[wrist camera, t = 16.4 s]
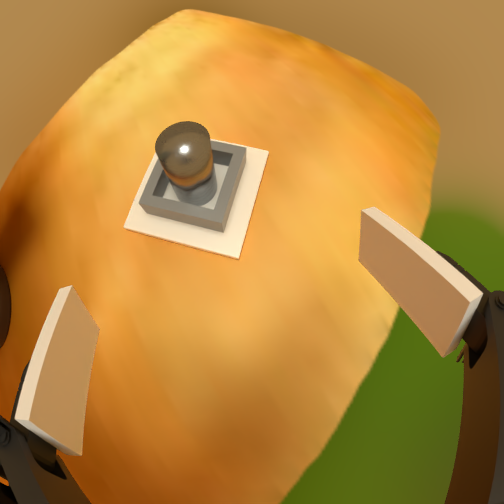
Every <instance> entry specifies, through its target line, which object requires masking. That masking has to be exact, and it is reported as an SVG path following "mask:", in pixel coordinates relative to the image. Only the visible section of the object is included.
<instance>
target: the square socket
mask: <svg viewBox="0 0 504 504" xmlns="http://www.w3.org/2000/svg"><path fill="white" fill-rule="evenodd" d="M210 142H211V148H212V155H213V161H214V167H215V173H216V179H217V192H216V194H215V196H214V197H213V199H212V200H211V201H209V202H208V203H206V204H205V205H202V206H196V205H192V204H188V203H183V202H180V201H179V200H178V198H177V196H176V194H175V192H174V190H173V188H172V186H171V184H170V182H169V180H168V178H167V175H166V173H165V171H164V169H163V167H162V165H161V163H160V161H159V158H158V156H157V154H156V153H155V155H154V157H153V159H152V161H151V163H150V165H149V167H148V170H147V172H146V174H145V176H144V178H143V181H142V183H141V185H140V188H139V190H138V192H137V195H136V197H135V199H134V202H133V204H132V207H131V209H130V212H129V214H128V217H127V219H126V222H125V225H124V228H125V229H126V230H129V231H133V232H137V233H140V234H144V235H148V236H151V237H155V238H159V239H162V240H166V241H170V242H173V243H177V244H181V245H184V246H188V247H192V248H196V249H199V250H203V251H207V252H211V253H214V254H218V255H222V256H226V257H230V258H233V259H237V260H239V257H240V253H241V250H242V246H243V243H244V239H245V235H246V232H247V228H248V225H249V221H250V218H251V214H252V211H253V207H254V203H255V200H256V196H257V193H258V189H259V186H260V182H261V179H262V175H263V172H264V168H265V165H266V161H267V158H268V154H269V151H266V150H261V149H257V148H253V147H248V146H244V145H239V144H234V143H229V142H224V141H219V140H213V139H210Z"/></svg>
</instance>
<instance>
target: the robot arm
mask: <svg viewBox="0 0 504 504" xmlns="http://www.w3.org/2000/svg"><path fill="white" fill-rule="evenodd" d="M359 262H360V263H361V264H362V265H363V266H364V267H365V268H366V269H367V270H368V271H369V272H370V273H371V274H372V275H373V276H374V278H375V279H376V280H377V281H378V282H379V283H380V284H381V285H382V286H383V287H384V289H385V290H386V291H387V292H388V293H389V294H390V295H391V296H392V297H393V299H394V300H395V301H396V302H397V303H398V304H399V305H400V307H401V308H402V309H403V310H404V311H405V312H406V313H407V314H408V316H409V317H410V318H411V319H412V320H413V322H414V323H415V324H416V325H417V326H418V328H419V329H420V330H421V331H422V332H423V333H424V335H425V336H426V337H427V339H428V340H429V341H430V342H431V343H432V345H433V346H434V347H435V348H436V350H437V351H438V352H439V354H440V355H441V356H442V357H445V356H446V355H448V354H449V353H451V352H452V351H454V350H455V349H456V348H457V346H458V345H459V343H460V341H461V339H462V338H463V340H464V341H465V342H466V343H465V345H464V347H463V349H462V350H461V352H460V354H459V356H458V357H457V361H456V362H459V361H460V359H461V358H462V356H463V355H464V360H463V361H462V363H464V388H463V405H462V417H461V426H460V435H459V441H458V448H457V453H456V459H455V464H454V469H453V474H452V478H451V482H450V486H449V490H448V493H447V497H446V500H445V504H504V292H503V291H494V292H492V293H491V292H489V291H488V290H487V289H486V288H485V287H484V286H483V285H482V284H481V283H480V282H478V281H477V280H476V279H475V278H474V277H473V276H472V275H471V274H469V273H468V272H467V271H465V270H464V268H462V267H461V266H460V265H458V264H457V263H456V262H455V261H454V260H453V259H452V258H450V257H449V256H447V255H445V254H443V253H441V252H439V251H436V252H435V251H434V250H433V249H431V248H430V247H429V246H428V245H426V244H425V243H424V242H422V241H421V240H420V239H418V238H417V237H416V236H415V235H413V234H412V233H411V232H409V231H408V230H407V229H405V228H404V227H403V226H401V225H400V224H398V223H397V222H396V221H394V220H393V219H391V218H390V217H389V216H387V215H386V214H384V213H383V212H381V211H380V210H379V209H377V208H376V207H372V208H367V209H363V210H361V229H360V248H359ZM10 310H11V305H10V292H9V286H8V282H7V278H6V275H5V273H4V270H3V268H2V267H1V265H0V348H1V346H2V345H3V343H4V341H5V338H6V336H7V332H8V328H9V322H10ZM99 330H100V329H99V327H98V326H97V324H96V323H95V321H94V320H93V318H92V317H91V315H90V314H89V312H88V310H87V309H86V307H85V306H84V304H83V302H82V301H81V299H80V297H79V296H78V294H77V292H76V291H75V289H74V287H73V286H72V285H71V286H67V287H64V288H60V289H59V291H58V293H57V296H56V298H55V300H54V302H53V304H52V307H51V309H50V311H49V313H48V316H47V318H46V321H45V323H44V325H43V328H42V330H41V333H40V336H39V338H38V341H37V343H36V346H35V349H34V352H33V355H32V358H31V359H30V361H29V362H28V364H27V365H26V367H25V369H24V371H23V374H22V377H21V382H20V384H19V388H18V389H19V391H17V395H16V399H15V403H14V407H13V411H12V415H11V420H10V423H9V422H8V421H7V420H6V419H4V418H3V417H2V416H1V415H0V477H2V478H4V479H6V480H8V482H9V486H6V485H4V484H2V483H0V504H91V503H90V501H89V500H88V498H87V497H86V496H85V494H84V493H83V492H82V490H81V489H80V487H79V486H78V484H77V483H76V481H75V480H74V478H73V477H72V475H71V474H70V472H69V470H68V469H67V467H66V466H65V464H64V462H63V461H62V459H61V458H60V457H59V456H58V455H56V449H58V450H60V451H61V452H63V453H65V454H67V455H76V456H82V445H83V431H84V420H85V411H86V403H87V395H88V388H89V382H90V375H91V370H92V364H93V359H94V353H95V348H96V344H97V339H98V334H99Z"/></svg>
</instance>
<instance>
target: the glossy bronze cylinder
mask: <svg viewBox="0 0 504 504" xmlns="http://www.w3.org/2000/svg"><path fill="white" fill-rule="evenodd" d="M155 151H156V154H157V156H158V158H159V161H160V163H161V165H162V167H163V169H164V171H165V173H166V175H167V178H168V180H169V182H170V184H171V186H172V188H173V190H174V192H175V194H176V196H177V198H178V200H179V201H180V202H183V203H188V204H192V205H196V206H202V205H205V204H206V203H208V202H209V201H211V200H212V199H213V197H214V196H215V194H216V192H217V179H216V173H215V167H214V161H213V155H212V148H211V142H210V135H209V133H208V131H207V129H206V128H205V127H204V126H202V125H201V124H198V123H196V122H190V121H185V122H179V123H176V124H173V125H171V126H169V127H168V128H166V129H165V130H164V131H163V132H162V133H161V134H160V135H159V137H158V139H157V141H156V144H155Z"/></svg>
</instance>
